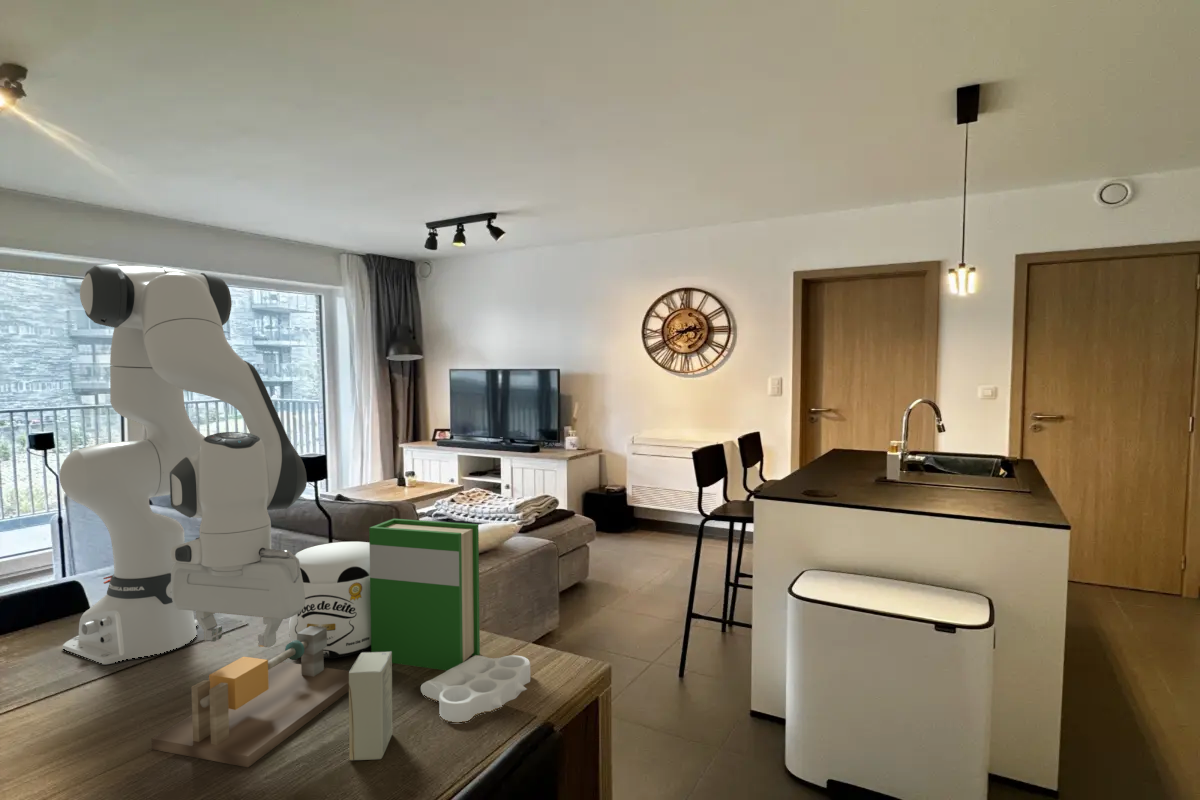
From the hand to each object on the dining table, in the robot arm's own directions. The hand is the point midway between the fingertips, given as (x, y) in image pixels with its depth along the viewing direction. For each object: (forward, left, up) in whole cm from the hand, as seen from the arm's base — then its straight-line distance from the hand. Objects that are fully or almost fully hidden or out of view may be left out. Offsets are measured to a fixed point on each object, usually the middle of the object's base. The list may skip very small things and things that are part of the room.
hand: (239, 642), depth 91 cm
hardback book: (+13, +28, -13) cm, 34 cm away
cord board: (0, +5, -13) cm, 14 cm away
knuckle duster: (+28, +19, -14) cm, 37 cm away
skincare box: (+21, +1, -13) cm, 24 cm away
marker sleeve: (0, 0, -8) cm, 8 cm away
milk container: (-5, +28, -13) cm, 31 cm away
